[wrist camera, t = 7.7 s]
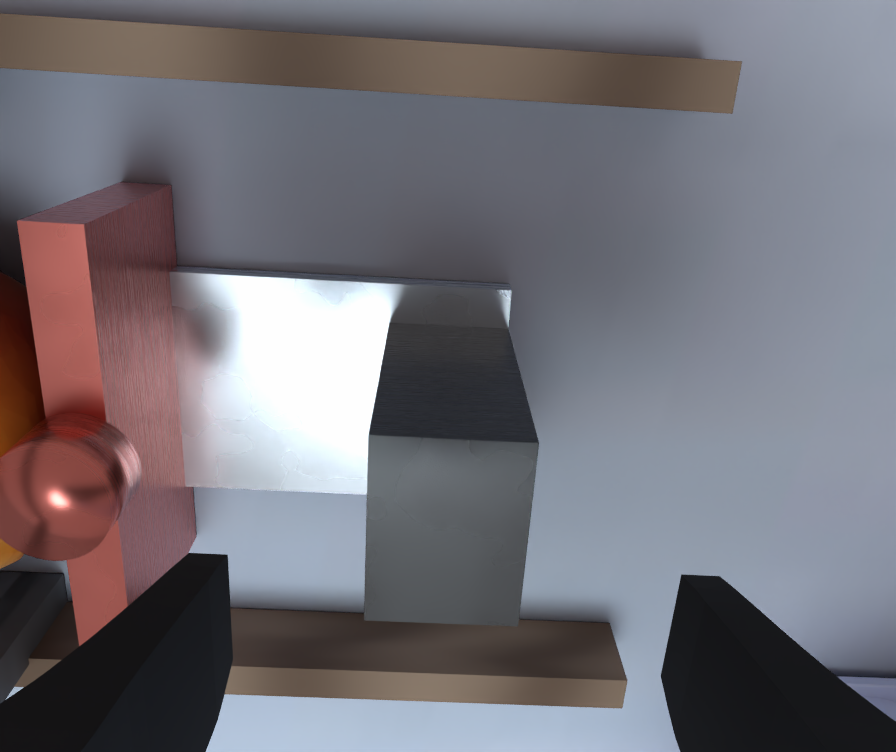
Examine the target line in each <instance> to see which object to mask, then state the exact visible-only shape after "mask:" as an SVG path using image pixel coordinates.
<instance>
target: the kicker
mask: <svg viewBox="0 0 896 752" xmlns="http://www.w3.org/2000/svg"><path fill="white" fill-rule="evenodd" d="M17 225H18V232H19V239H20V246H21V253H22V259H23V266H24V273H25V280H26V287H27V294H28V300H29V307H30V314H31V321H32V328H33V334H34V341H35V348H36V355H37V362H38V369H39V375H40V382H41V389H42V396H43V403H44V409H45V416H46V419H44V420H42V421H41V422H39V423H38V424H37V425H36V426H34V427H33V428H32V429H31V430H30V431H29V432H28V433H27V434H26V435H24V436H23V437H22V438H21V439H20V440H19V441H18V442H17V443H16V444H14V445H13V446H12V447H11V448H10V449H9V450H8V451H7V452H6V453H4V454H3V455H2V456H1V457H0V538H1V539H2V540H3V541H4V542H5V543H7V544H8V545H10V546H11V547H12V548H14V549H16V550H18V551H20V552H22V553H24V554H26V555H29V556H32V557H35V558H39V559H44V560H52V561H63V560H67V566H68V573H69V580H70V587H71V594H72V600H73V607H74V614H75V621H76V628H77V635H78V641H79V646H80V645H82V644H83V643H84V642H86V641H87V640H88V639H89V638H91V637H92V636H93V635H94V634H96V633H97V632H98V631H99V630H100V629H101V628H103V627H104V626H105V625H106V624H107V623H109V622H110V621H111V620H112V619H113V618H114V617H116V616H117V615H118V614H119V613H120V612H122V611H123V610H124V609H125V608H126V607H127V606H129V605H130V604H131V603H132V602H133V601H134V600H135V599H137V598H138V597H139V596H140V595H141V594H142V593H143V592H145V591H146V590H147V589H148V588H149V587H150V586H151V585H152V584H154V583H155V582H156V581H157V580H158V579H159V578H160V577H161V576H163V575H164V574H165V573H166V572H167V571H168V570H169V569H170V568H172V567H173V566H174V565H175V564H176V563H178V562H179V561H180V560H181V559H182V558H183V557H185V556H186V555H187V554H188V552H189V550H190V548H191V546H192V544H193V542H194V540H195V538H196V524H195V510H194V496H193V487H205V488H227V489H250V490H272V491H294V492H317V493H339V494H362V495H367V516H366V558H365V601H364V621H390V622H415V623H441V624H466V625H491V626H517V627H518V622H519V613H520V604H521V596H522V587H523V578H524V569H525V561H526V552H527V543H528V535H529V526H530V517H531V508H532V500H533V491H534V482H535V473H536V465H537V456H538V447H539V442H538V438H537V434H536V430H535V427H534V423H533V419H532V416H531V412H530V408H529V404H528V401H527V397H526V393H525V390H524V386H523V382H522V378H521V375H520V371H519V367H518V364H517V360H516V356H515V352H514V349H513V345H512V341H511V338H510V334H509V330H508V325H509V314H510V303H511V292H512V290H511V287H510V284H499V283H481V282H463V281H444V280H426V279H407V278H389V277H370V276H352V275H334V274H315V273H297V272H278V271H260V270H242V269H223V268H205V267H186V266H177V259H176V245H175V231H174V217H173V203H172V190H171V185H162V184H145V183H128V182H120V183H117V184H114V185H112V186H109V187H106V188H104V189H101V190H98V191H96V192H93V193H90V194H87V195H85V196H82V197H79V198H77V199H74V200H71V201H69V202H66V203H63V204H60V205H58V206H55V207H52V208H50V209H47V210H44V211H42V212H39V213H36V214H33V215H31V216H28V217H25V218H23V219H20V220H17Z"/></svg>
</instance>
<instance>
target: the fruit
mask: <svg viewBox="0 0 896 752" xmlns="http://www.w3.org/2000/svg"><path fill="white" fill-rule="evenodd" d="M44 419H46V416H45V409H44V403H43V396H42V389H41V382H40V375H39V369H38V362H37V355H36V348H35V341H34V334H33V328H32V321H31V314H30V307H29V300H28V294H27V287H26V286H24V285H23V284H21V283H20V282H18V281H17V280H15V279H13V278H12V277H10V276H8V275H6V274H4V273H2V272H0V457H1V456H2V455H3V454H4V453H6V452H7V451H8V450H9V449H10V448H11V447H12V446H13V445H14V444H16V443H17V442H18V441H19V440H20V439H21V438H22V437H23V436H24V435H26V434H27V433H28V432H29V431H30V430H31V429H32V428H33V427H34V426H36V425H37V424H38V423H39V422H41V421H42V420H44ZM23 555H24V553H22V552H20V551H18V550H16V549H14V548H12V547H11V546H10V545H8V544H7V543H5V542H4V541H3V540H2V539H1V538H0V569H1V568H3V567H5V566H7V565H10V564H12V563H14V562H16V561H18V560H20V559H21V558H22V556H23Z"/></svg>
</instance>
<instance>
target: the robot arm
mask: <svg viewBox="0 0 896 752" xmlns="http://www.w3.org/2000/svg"><path fill="white" fill-rule="evenodd" d="M232 662H233V647H232V629H231V610H230V591H229V573H228V555H221V554H198V553H188V554H187V555H186V556H185V557H183V558H182V559H181V560H180V561H179V562H178V563H176V564H175V565H174V566H173V567H172V568H170V569H169V570H168V571H167V572H166V573H165V574H164V575H163V576H161V577H160V578H159V579H158V580H157V581H156V582H155V583H154V584H152V585H151V586H150V587H149V588H148V589H147V590H146V591H145V592H143V593H142V594H141V595H140V596H139V597H138V598H137V599H135V600H134V601H133V602H132V603H131V604H130V605H129V606H127V607H126V608H125V609H124V610H123V611H122V612H120V613H119V614H118V615H117V616H116V617H114V618H113V619H112V620H111V621H110V622H109V623H107V624H106V625H105V626H104V627H103V628H101V629H100V630H99V631H98V632H97V633H96V634H94V635H93V636H92V637H91V638H89V639H88V640H87V641H86V642H84V643H83V644H82V645H80V646H79V647H78V648H76V649H75V650H74V651H73V652H71V653H70V654H69V655H67V656H66V657H65V658H64V659H62V660H61V661H60V662H58V663H57V664H56V665H54V666H53V667H52V668H51V669H49V670H48V671H47V672H45V673H44V674H43V675H41V676H40V677H38V678H37V679H36V680H34V681H33V682H31V683H30V684H29V685H27V686H26V687H24V688H23V689H21V690H20V691H18V692H17V693H15V694H14V695H12V696H11V697H9V698H8V699H6V700H5V701H3V702H2V703H0V752H206V749H207V746H208V744H209V741H210V739H211V736H212V733H213V731H214V728H215V725H216V723H217V720H218V716H219V713H220V709H221V705H222V701H223V698H224V694H225V690H226V686H227V682H228V678H229V674H230V670H231V666H232ZM661 679H662V683H663V688H664V692H665V697H666V701H667V706H668V710H669V714H670V718H671V722H672V726H673V730H674V734H675V738H676V740H677V743H678V746H679V749H680V752H896V678H869V677H843V676H836V675H834V674H833V673H832V672H831V671H830V670H828V669H827V668H826V667H825V666H823V665H822V664H821V663H820V662H819V661H817V660H816V659H815V658H814V657H813V656H811V655H810V654H809V653H808V652H807V651H806V650H804V649H803V648H802V647H801V646H800V645H798V644H797V643H796V642H795V641H794V640H793V639H792V638H790V637H789V636H788V635H787V634H786V633H785V632H783V631H782V630H781V629H780V628H779V627H778V626H777V625H775V624H774V623H773V622H772V621H771V620H770V619H769V618H768V617H766V616H765V615H764V614H763V613H762V612H761V611H760V610H758V609H757V608H756V607H755V606H754V605H753V604H752V603H750V602H749V601H748V600H747V599H746V598H745V597H744V596H742V595H741V594H740V593H739V592H738V591H737V590H736V589H734V588H733V587H732V586H731V585H730V584H728V583H727V582H726V581H725V580H723V579H722V578H721V577H719V576H700V575H681V580H680V584H679V589H678V594H677V599H676V604H675V609H674V614H673V619H672V624H671V629H670V634H669V639H668V643H667V648H666V653H665V658H664V663H663V668H662V673H661Z"/></svg>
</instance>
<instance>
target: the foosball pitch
mask: <svg viewBox="0 0 896 752" xmlns="http://www.w3.org/2000/svg"><path fill="white" fill-rule="evenodd" d="M741 64H742V61H727V60H711V59H696V58H680V57H665V56H649V55H634V54H619V53H603V52H588V51H572V50H557V49H541V48H526V47H510V46H495V45H480V44H464V43H449V42H433V41H418V40H402V39H387V38H371V37H356V36H341V35H325V34H310V33H294V32H279V31H263V30H248V29H232V28H217V27H202V26H186V25H171V24H155V23H140V22H124V21H109V20H93V19H78V18H63V17H47V16H32V15H16V14H1V13H0V68H10V69H26V70H42V71H58V72H74V73H90V74H106V75H122V76H138V77H154V78H170V79H186V80H202V81H218V82H234V83H250V84H266V85H282V86H298V87H314V88H330V89H346V90H362V91H378V92H394V93H410V94H426V95H442V96H458V97H474V98H490V99H506V100H522V101H538V102H554V103H570V104H586V105H602V106H618V107H635V108H651V109H667V110H683V111H699V112H715V113H731V114H732V113H733V107H734V102H735V97H736V91H737V86H738V80H739V75H740V70H741ZM230 610H231V629H232V647H233V662H232V666H231V670H230V674H229V678H228V682H227V686H226V690H225V694H235V695H263V696H291V697H319V698H347V699H375V700H403V701H431V702H459V703H487V704H515V705H542V706H570V707H598V708H622V707H623V702H624V696H625V691H626V685H627V678H626V675H625V672H624V668H623V665H622V662H621V659H620V655H619V652H618V649H617V646H616V642H615V639H614V636H613V633H612V629H611V626H610V623H592V622H567V621H542V620H519V622H518V627H517V626H491V625H466V624H441V623H415V622H390V621H364V613H339V612H314V611H289V610H264V609H238V608H230ZM78 647H79V641H78V635H77V628H76V621H75V614H74V607H73V602H67V596H66V589H65V582H64V576H63V574H52V573H27V572H3V571H0V703H2V702H3V701H5V699H6V698H7V696H8V695H9V693H10V692H11V691H12V689H13V688H14V687H26V686H27V685H29V684H30V683H31V682H33V681H34V680H36V679H37V678H38V677H40V676H41V675H43V674H44V673H45V672H47V671H48V670H49V669H51V668H52V667H53V666H54V665H56V664H57V663H58V662H60V661H61V660H62V659H64V658H65V657H66V656H67V655H69V654H70V653H71V652H73V651H74V650H75V649H76V648H78Z"/></svg>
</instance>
